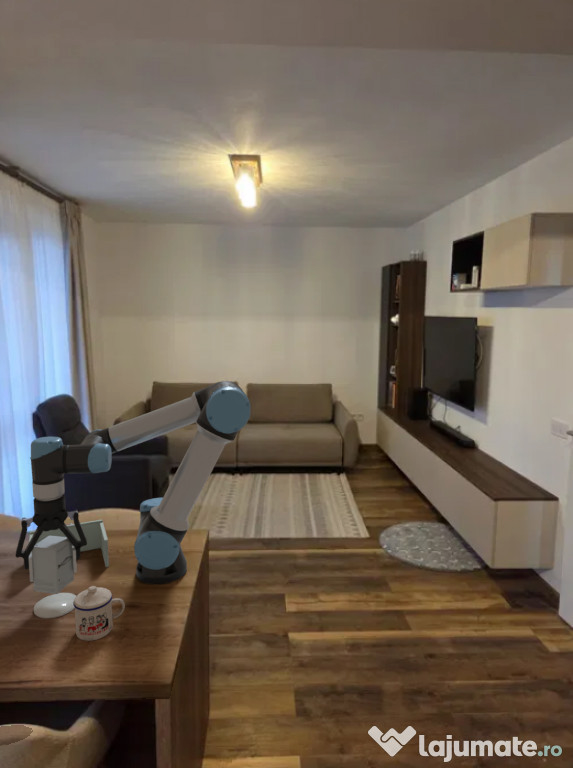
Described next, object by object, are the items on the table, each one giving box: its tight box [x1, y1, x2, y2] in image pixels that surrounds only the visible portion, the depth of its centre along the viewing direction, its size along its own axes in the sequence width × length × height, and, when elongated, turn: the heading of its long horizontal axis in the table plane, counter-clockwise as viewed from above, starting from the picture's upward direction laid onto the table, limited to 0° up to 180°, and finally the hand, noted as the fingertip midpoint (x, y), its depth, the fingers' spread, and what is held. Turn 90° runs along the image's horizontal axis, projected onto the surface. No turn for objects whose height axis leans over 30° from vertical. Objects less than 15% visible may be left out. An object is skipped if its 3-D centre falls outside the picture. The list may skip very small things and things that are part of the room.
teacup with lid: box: [73, 585, 126, 642], centre depth 126 cm, size 12×9×12 cm
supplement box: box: [32, 536, 75, 595], centre depth 134 cm, size 7×7×13 cm
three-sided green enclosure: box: [28, 519, 110, 583], centre depth 158 cm, size 15×22×10 cm
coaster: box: [33, 592, 77, 619], centre depth 136 cm, size 11×11×1 cm
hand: (53, 574), depth 135 cm, fingers closed on supplement box, 10 cm apart
